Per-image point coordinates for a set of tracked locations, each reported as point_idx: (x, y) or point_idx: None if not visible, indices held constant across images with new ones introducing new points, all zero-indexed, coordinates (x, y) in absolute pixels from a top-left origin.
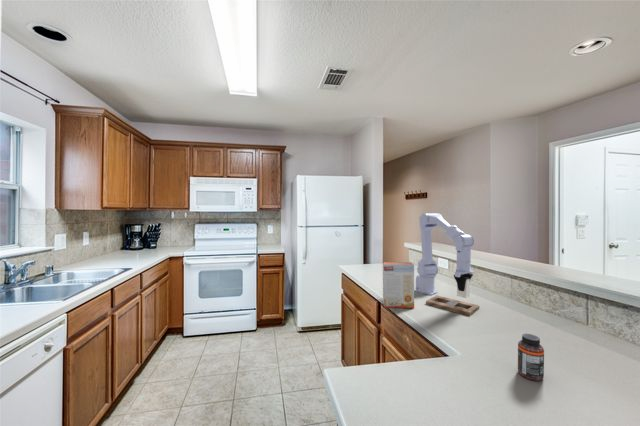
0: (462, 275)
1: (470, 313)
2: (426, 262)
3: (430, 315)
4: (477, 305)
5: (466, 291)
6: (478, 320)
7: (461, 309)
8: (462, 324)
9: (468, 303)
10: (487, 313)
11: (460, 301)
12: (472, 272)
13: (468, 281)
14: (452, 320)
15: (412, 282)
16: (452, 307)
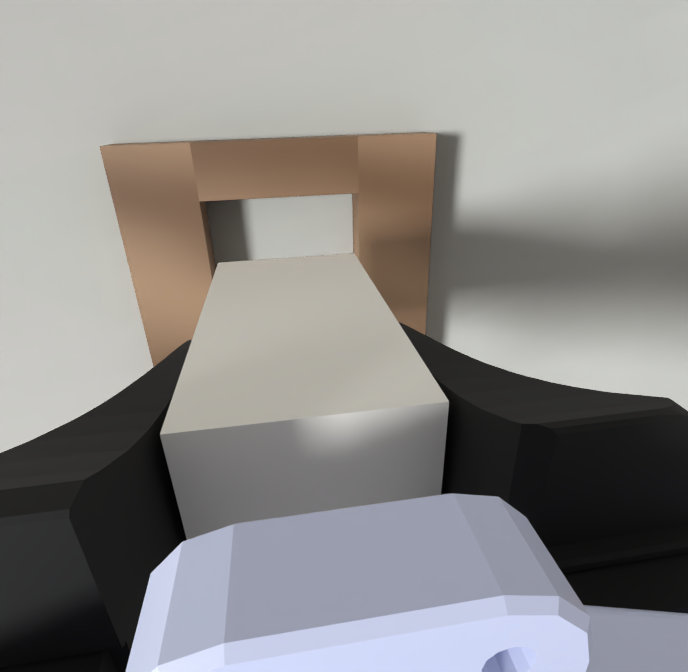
0: (634, 592)
1: (412, 134)
2: None
3: (615, 364)
4: (116, 166)
5: (359, 286)
6: (484, 9)
7: (404, 238)
8: (674, 97)
9: (146, 271)
10: (179, 3)
11: (164, 354)
12: (450, 534)
13: (261, 386)
14: (627, 203)
15: None
16: (410, 321)
